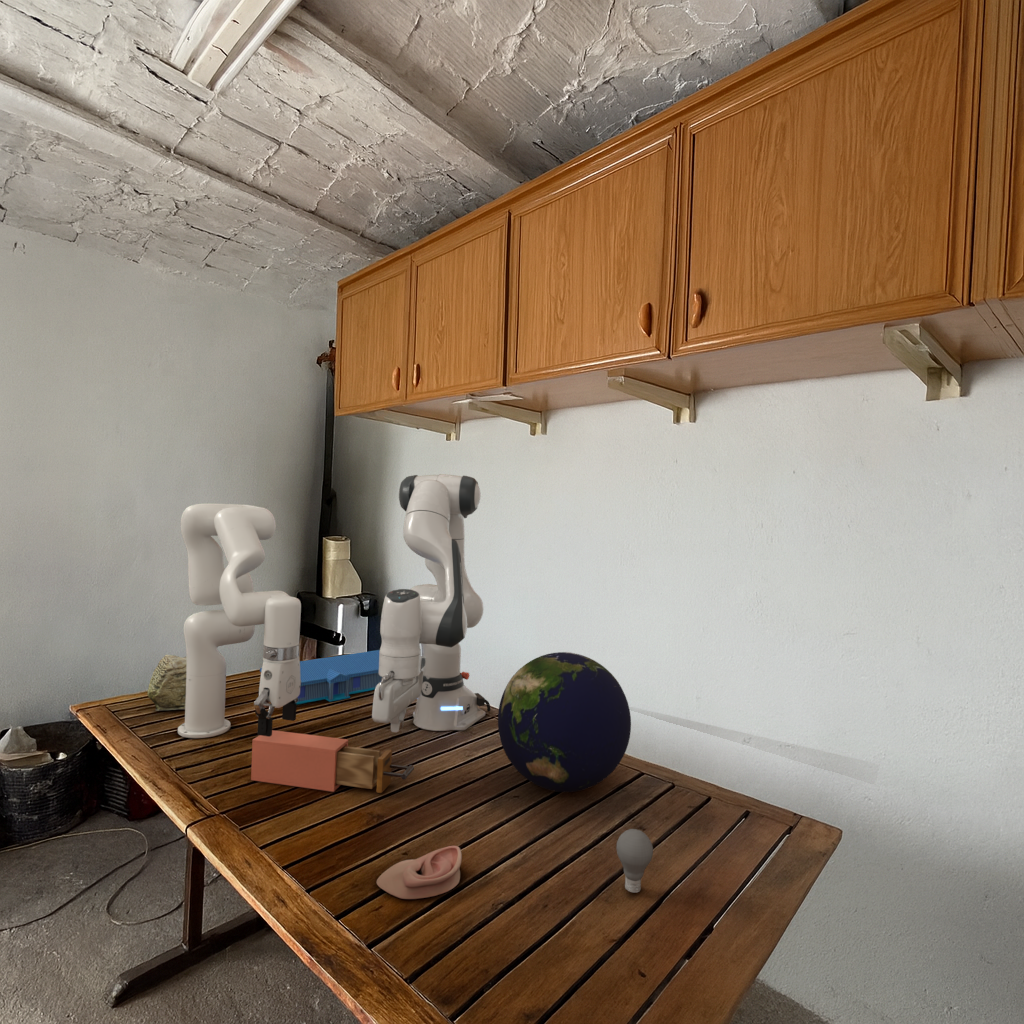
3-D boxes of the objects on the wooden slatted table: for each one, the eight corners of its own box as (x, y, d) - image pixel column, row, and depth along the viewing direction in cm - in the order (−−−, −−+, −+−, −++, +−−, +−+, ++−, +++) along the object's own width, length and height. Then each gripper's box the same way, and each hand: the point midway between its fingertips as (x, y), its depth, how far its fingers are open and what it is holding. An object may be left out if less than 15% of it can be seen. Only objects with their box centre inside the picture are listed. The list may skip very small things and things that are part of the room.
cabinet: (346, 779, 142) (348, 739, 142) (333, 791, 136) (335, 750, 136) (267, 768, 146) (268, 729, 146) (250, 780, 140) (252, 739, 140)
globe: (472, 799, 135) (478, 659, 135) (523, 750, 163) (528, 634, 162) (610, 832, 124) (617, 680, 124) (639, 773, 152) (645, 649, 151)
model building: (289, 709, 186) (291, 675, 185) (258, 688, 204) (259, 657, 204) (403, 687, 212) (405, 657, 212) (366, 670, 230) (368, 643, 230)
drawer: (413, 785, 139) (415, 752, 139) (405, 796, 134) (406, 762, 134) (312, 772, 143) (313, 740, 143) (300, 781, 138) (302, 748, 138)
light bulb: (610, 879, 108) (613, 822, 108) (644, 879, 109) (647, 822, 109) (619, 902, 102) (622, 840, 102) (655, 901, 103) (658, 840, 103)
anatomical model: (369, 868, 102) (396, 832, 113) (368, 893, 102) (395, 854, 113) (448, 882, 99) (468, 844, 110) (447, 907, 99) (467, 866, 110)
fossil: (144, 707, 182) (145, 655, 182) (212, 696, 194) (213, 647, 194) (151, 716, 175) (153, 662, 175) (221, 703, 188) (223, 653, 188)
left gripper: (274, 664, 133) (270, 744, 133) (315, 645, 150) (311, 716, 150) (242, 660, 134) (238, 739, 135) (286, 641, 151) (283, 712, 152)
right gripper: (395, 680, 126) (392, 749, 126) (428, 656, 146) (426, 716, 146) (365, 677, 127) (362, 745, 127) (402, 654, 147) (400, 713, 147)
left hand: (277, 727), depth 143 cm, fingers open, 9 cm apart
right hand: (397, 729), depth 137 cm, fingers closed
